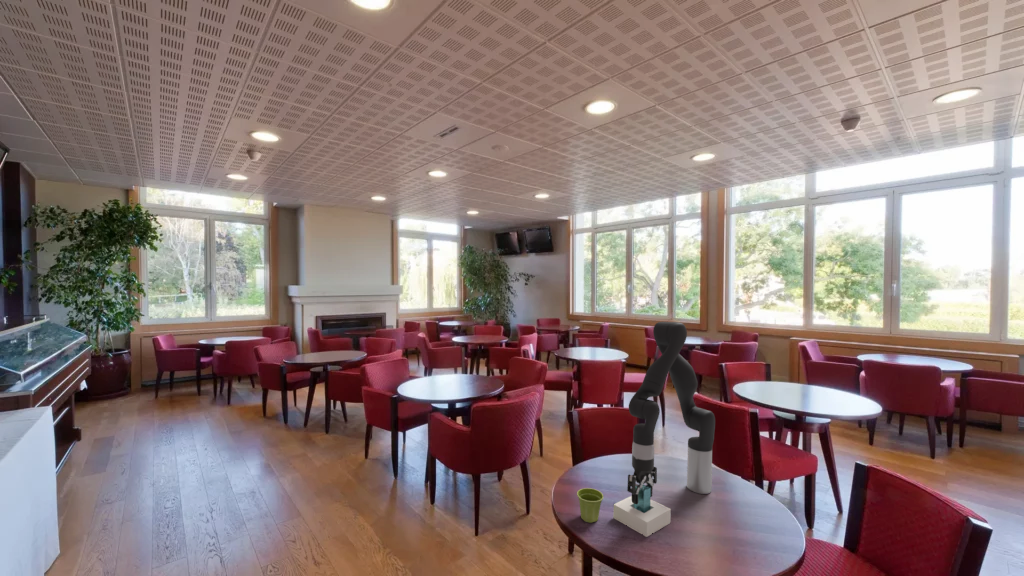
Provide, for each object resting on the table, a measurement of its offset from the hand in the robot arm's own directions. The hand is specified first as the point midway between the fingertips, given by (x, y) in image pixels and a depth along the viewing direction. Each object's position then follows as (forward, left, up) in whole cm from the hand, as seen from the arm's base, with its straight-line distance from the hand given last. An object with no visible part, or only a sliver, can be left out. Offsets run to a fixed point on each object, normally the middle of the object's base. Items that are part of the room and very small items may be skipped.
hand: (642, 499), depth 152 cm
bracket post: (0, 0, -8) cm, 8 cm away
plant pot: (+14, -12, -8) cm, 20 cm away
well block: (0, 0, -8) cm, 8 cm away
